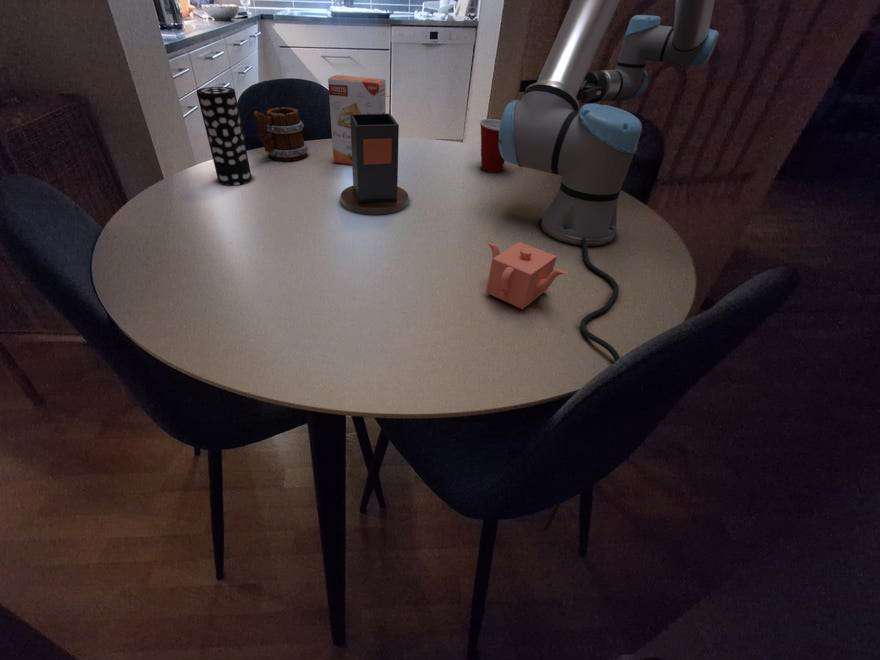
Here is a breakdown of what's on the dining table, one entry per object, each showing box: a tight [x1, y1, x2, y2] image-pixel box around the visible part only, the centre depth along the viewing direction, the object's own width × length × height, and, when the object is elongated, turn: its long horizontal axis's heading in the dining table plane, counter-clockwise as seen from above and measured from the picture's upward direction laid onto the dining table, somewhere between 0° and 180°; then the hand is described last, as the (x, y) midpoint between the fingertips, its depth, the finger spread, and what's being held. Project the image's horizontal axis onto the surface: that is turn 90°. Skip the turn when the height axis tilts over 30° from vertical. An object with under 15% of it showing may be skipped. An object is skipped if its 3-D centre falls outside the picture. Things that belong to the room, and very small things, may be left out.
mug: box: [253, 106, 309, 162], centre depth 123 cm, size 12×14×15 cm
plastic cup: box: [479, 118, 506, 173], centre depth 120 cm, size 11×11×12 cm
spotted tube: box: [195, 86, 253, 186], centre depth 106 cm, size 8×8×20 cm
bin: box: [350, 113, 400, 203], centre depth 98 cm, size 9×10×16 cm
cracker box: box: [327, 74, 387, 166], centre depth 118 cm, size 14×6×21 cm, turn 73°
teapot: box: [485, 240, 569, 310], centre depth 72 cm, size 12×15×8 cm
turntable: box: [340, 185, 409, 216], centre depth 104 cm, size 16×16×2 cm
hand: (535, 91), depth 115 cm, fingers open, 13 cm apart
